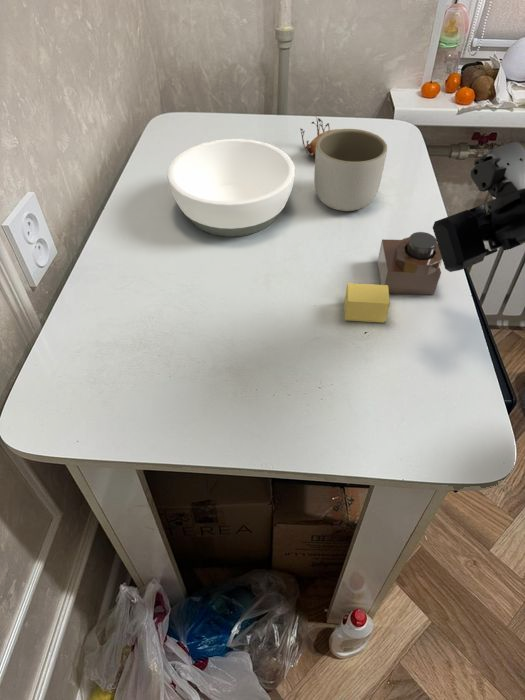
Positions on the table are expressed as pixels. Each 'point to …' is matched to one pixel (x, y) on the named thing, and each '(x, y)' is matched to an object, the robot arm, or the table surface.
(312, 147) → the vegetable
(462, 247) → the robot arm
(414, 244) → the dark grey short cylinder
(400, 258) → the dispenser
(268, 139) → the table surface
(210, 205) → the bowl
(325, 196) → the planter
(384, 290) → the yellow block
